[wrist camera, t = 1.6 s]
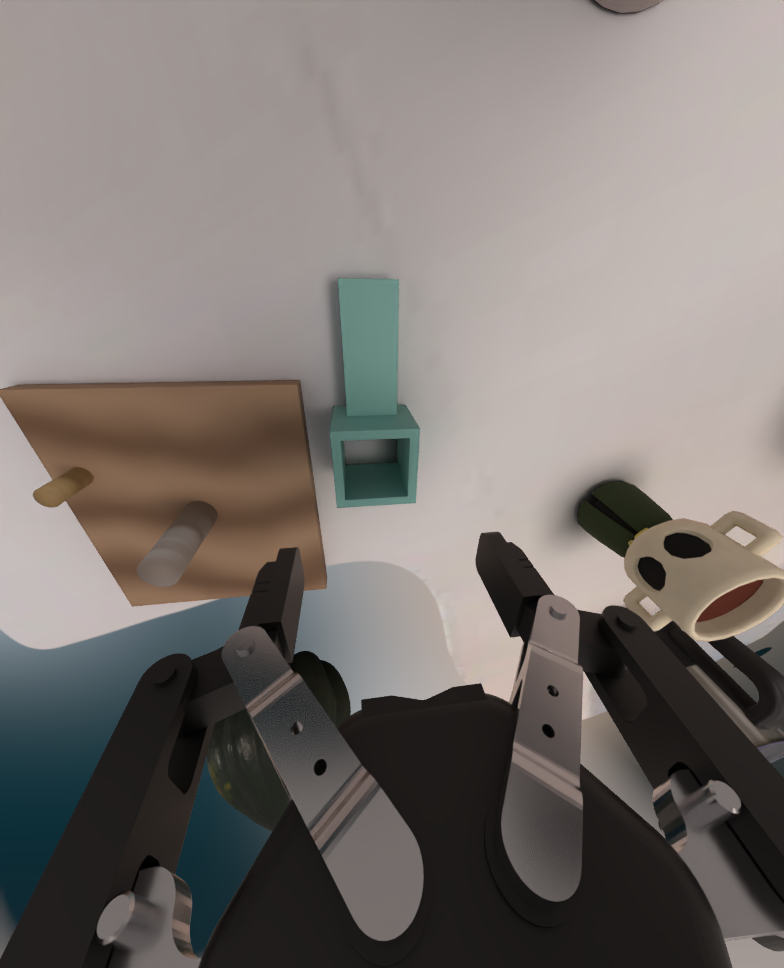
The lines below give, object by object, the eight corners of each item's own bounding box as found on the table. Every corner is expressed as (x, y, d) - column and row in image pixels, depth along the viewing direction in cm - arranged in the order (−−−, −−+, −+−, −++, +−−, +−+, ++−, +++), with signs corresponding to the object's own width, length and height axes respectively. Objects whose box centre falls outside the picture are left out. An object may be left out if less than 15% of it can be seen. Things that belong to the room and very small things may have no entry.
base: (18, 384, 20) (-153, 425, 13) (299, 380, 22) (278, 412, 15) (141, 593, 30) (80, 678, 23) (327, 577, 32) (321, 650, 25)
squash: (183, 680, 29) (170, 893, 24) (342, 653, 31) (356, 846, 26) (239, 650, 42) (237, 785, 38) (347, 633, 44) (358, 758, 40)
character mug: (623, 446, 29) (800, 536, 17) (665, 476, 31) (844, 571, 20) (543, 531, 33) (645, 647, 22) (586, 551, 35) (697, 664, 24)
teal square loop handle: (322, 281, 19) (313, 272, 15) (409, 282, 20) (428, 275, 15) (338, 471, 26) (337, 507, 21) (403, 468, 27) (415, 502, 22)
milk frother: (663, 650, 50) (772, 768, 37) (571, 668, 49) (650, 795, 36) (700, 591, 42) (852, 713, 30) (592, 610, 41) (701, 745, 29)
